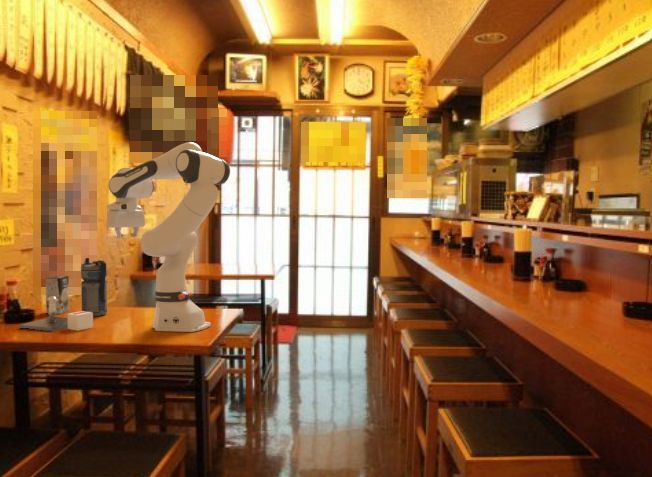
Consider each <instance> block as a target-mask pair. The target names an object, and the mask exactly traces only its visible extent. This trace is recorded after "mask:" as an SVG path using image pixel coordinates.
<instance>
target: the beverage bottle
mask: <svg viewBox="0 0 652 477" xmlns="http://www.w3.org/2000/svg"><path fill="white" fill-rule="evenodd" d="M107 276H108V270H107V263H106V261H105V260H101V259H100V260H99V259H98V260H97V261H96V260H93V261H92V262H90V257H85V259H84V262H83V263H82V264H81V265H80V278H81V279H82V281H81V283H80V287H81V288H80V289H81V290H80V293H81V311H87V312H92V313H93V318H94V317H101V316H104V315H107V312H108V281H107V280H106V278H107Z"/></svg>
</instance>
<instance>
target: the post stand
mask: <svg viewBox="0 0 652 477" xmlns="http://www.w3.org/2000/svg"><path fill="white" fill-rule="evenodd" d="M47 301H49V314H48V315H49V316H48V317H47V318H42V319H38V320H35V321H30V322H26V323H21V324H19V329H20V328H29V329H35V330H34V331H40V330H43V331H42V332H50V331H51V333H52V332H57V331H60V330H64V329H68V317H60V316H57V314H56V301H58V298H56V297H49V298H47ZM29 329H28V330H29Z"/></svg>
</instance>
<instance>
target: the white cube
mask: <svg viewBox="0 0 652 477" xmlns="http://www.w3.org/2000/svg"><path fill="white" fill-rule="evenodd" d="M67 318H68V328H67V329H68V330H71V331H77V332H78V331H83V330H88V329H92V328H94V317H93V313H92V312H87V311H82V310H80V311H74V312H70V313H67Z"/></svg>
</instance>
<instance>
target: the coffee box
mask: <svg viewBox="0 0 652 477" xmlns="http://www.w3.org/2000/svg"><path fill="white" fill-rule="evenodd" d="M69 277H70V276H69V275H55V276H51V277H46V278H45V290H46V291H45V300H46V301H45V304H46V305H45V308H46V309H45V311H46V312H45V314H46V313H48V314H47V315H49V301H47V298H49V297H56V298H58V301H56V315H61V314H64V313H65V312H68V311H70V299H69V297H70V294H69V293H70V292H69V291H70V287H69V286H70V285H69V284H70V283H69Z"/></svg>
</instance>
